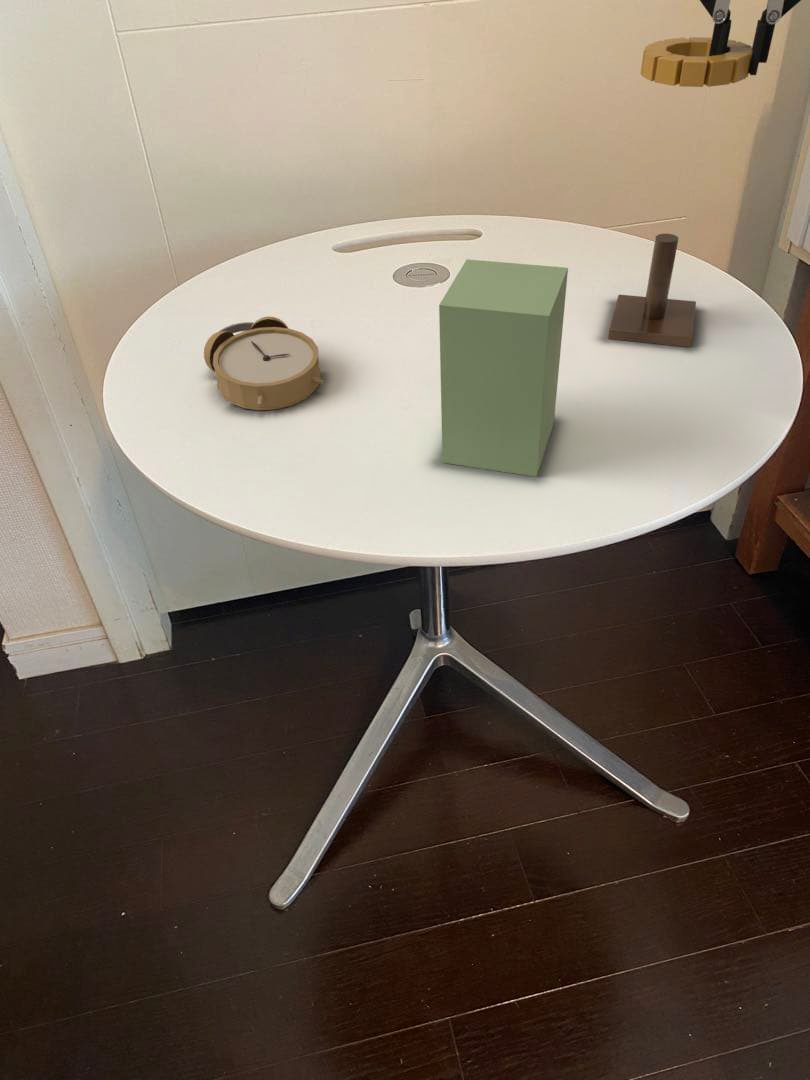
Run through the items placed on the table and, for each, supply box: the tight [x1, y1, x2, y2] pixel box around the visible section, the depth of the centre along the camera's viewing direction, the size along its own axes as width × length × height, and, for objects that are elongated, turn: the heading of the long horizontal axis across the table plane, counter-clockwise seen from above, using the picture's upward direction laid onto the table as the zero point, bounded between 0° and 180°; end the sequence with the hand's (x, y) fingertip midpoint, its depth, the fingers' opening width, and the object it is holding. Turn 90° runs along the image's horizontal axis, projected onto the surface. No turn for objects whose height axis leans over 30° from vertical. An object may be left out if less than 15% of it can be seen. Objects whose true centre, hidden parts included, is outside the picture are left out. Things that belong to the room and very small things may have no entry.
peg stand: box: [607, 233, 697, 348], centre depth 90 cm, size 9×9×10 cm
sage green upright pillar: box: [438, 258, 569, 478], centre depth 73 cm, size 9×9×16 cm
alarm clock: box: [203, 316, 324, 411], centre depth 88 cm, size 11×5×15 cm
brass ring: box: [640, 36, 752, 88], centre depth 75 cm, size 10×10×2 cm
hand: (735, 69), depth 75 cm, fingers closed on brass ring, 2 cm apart
